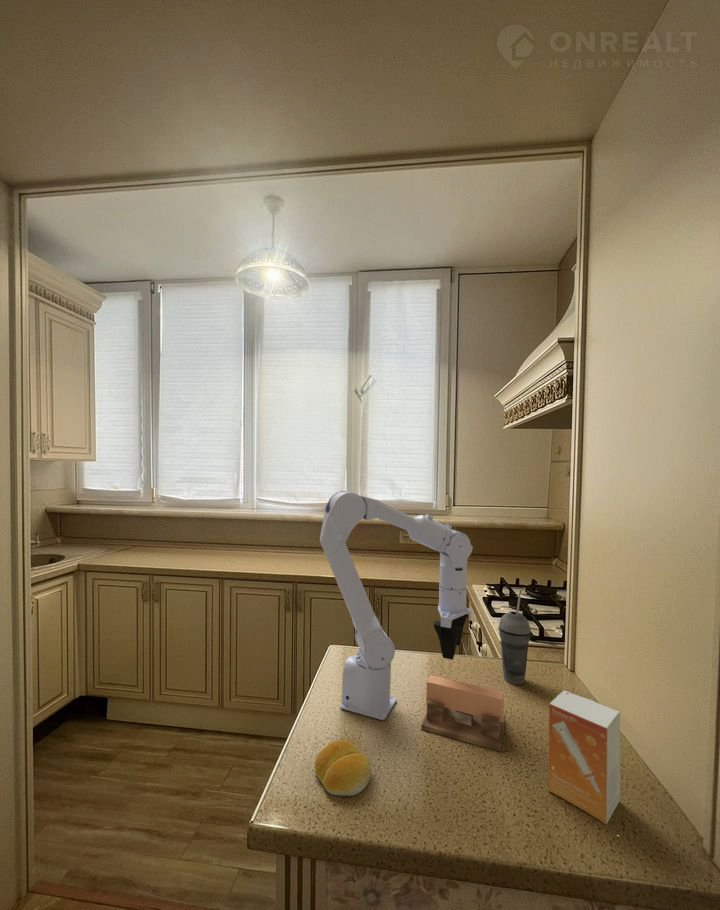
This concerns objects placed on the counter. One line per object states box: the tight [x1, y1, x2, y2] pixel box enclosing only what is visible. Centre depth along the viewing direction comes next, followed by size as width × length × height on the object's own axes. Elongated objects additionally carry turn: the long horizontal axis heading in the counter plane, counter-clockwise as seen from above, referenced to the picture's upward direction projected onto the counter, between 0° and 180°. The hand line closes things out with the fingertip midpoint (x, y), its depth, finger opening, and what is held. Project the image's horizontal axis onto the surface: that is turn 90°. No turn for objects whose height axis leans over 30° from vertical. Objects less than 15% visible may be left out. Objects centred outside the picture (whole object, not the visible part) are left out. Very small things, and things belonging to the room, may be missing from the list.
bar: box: [425, 674, 505, 723], centre depth 77 cm, size 14×3×4 cm, turn 67°
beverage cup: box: [497, 593, 532, 685], centre depth 95 cm, size 7×7×20 cm
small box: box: [547, 690, 621, 825], centre depth 60 cm, size 8×6×13 cm
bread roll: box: [314, 739, 372, 797], centre depth 63 cm, size 8×9×4 cm
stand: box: [420, 700, 506, 752], centre depth 77 cm, size 14×10×4 cm
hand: (451, 651), depth 86 cm, fingers open, 7 cm apart
